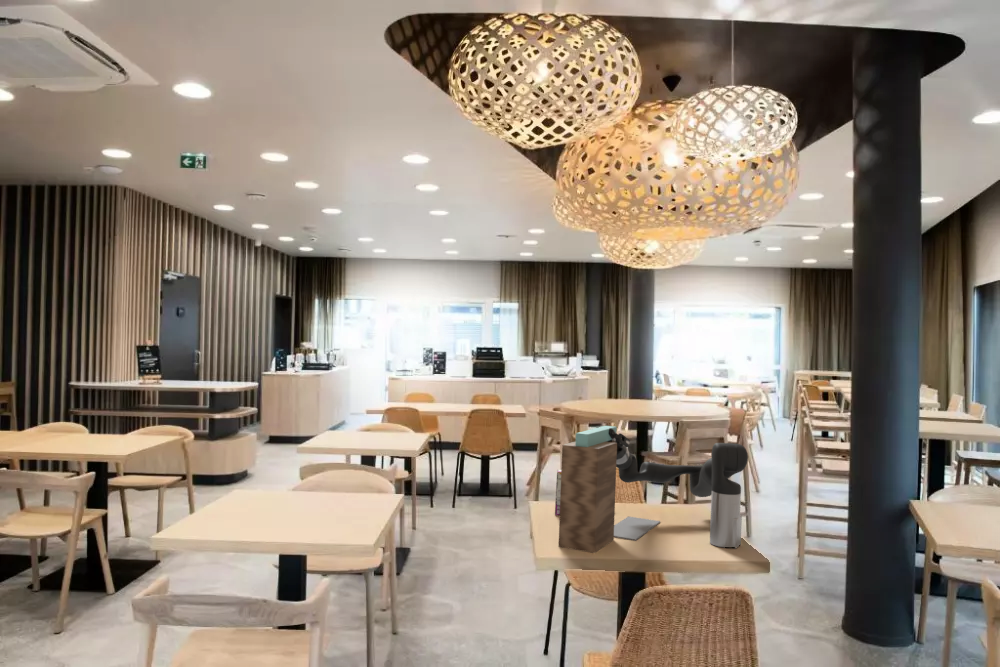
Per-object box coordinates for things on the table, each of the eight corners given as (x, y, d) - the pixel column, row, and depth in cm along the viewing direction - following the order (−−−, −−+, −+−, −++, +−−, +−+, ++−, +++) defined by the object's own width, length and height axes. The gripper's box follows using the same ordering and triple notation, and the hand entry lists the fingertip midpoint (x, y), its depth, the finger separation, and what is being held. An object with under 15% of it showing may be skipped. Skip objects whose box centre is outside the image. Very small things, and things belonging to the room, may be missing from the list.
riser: (613, 539, 239) (617, 442, 239) (594, 552, 223) (598, 448, 223) (579, 534, 244) (583, 439, 245) (558, 546, 228) (562, 444, 229)
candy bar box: (554, 515, 270) (556, 471, 270) (555, 512, 275) (556, 469, 275) (585, 517, 269) (586, 473, 269) (584, 514, 274) (586, 470, 274)
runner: (660, 522, 265) (660, 521, 265) (635, 540, 239) (635, 539, 239) (628, 517, 271) (628, 516, 271) (601, 535, 244) (601, 533, 244)
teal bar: (616, 438, 251) (616, 426, 251) (587, 447, 226) (587, 434, 226) (605, 437, 253) (605, 425, 253) (575, 445, 228) (575, 433, 228)
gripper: (633, 462, 253) (621, 442, 240) (595, 457, 259) (581, 438, 246) (637, 442, 256) (625, 421, 243) (599, 438, 263) (585, 418, 250)
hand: (603, 430), depth 245 cm, fingers closed on teal bar, 4 cm apart
